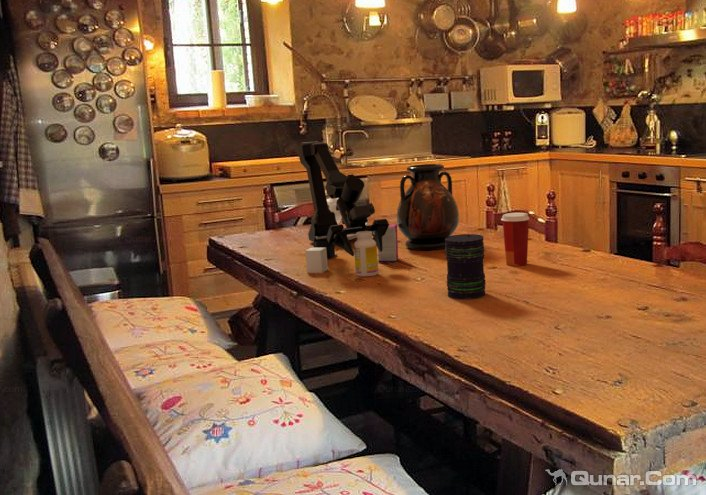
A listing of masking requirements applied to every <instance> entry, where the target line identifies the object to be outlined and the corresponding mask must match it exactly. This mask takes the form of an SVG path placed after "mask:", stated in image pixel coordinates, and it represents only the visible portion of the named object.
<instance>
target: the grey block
mask: <svg viewBox="0 0 706 495" xmlns="http://www.w3.org/2000/svg"><path fill="white" fill-rule="evenodd" d="M304 254H305V264H306V266H305V267H306V274H323V273H325V272H327V270H329V265H328V264H329V263H328V259H327V251H326V247H320V248H314V247H310V248H308V249H305V250H304Z"/></svg>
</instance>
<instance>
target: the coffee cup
mask: <svg viewBox="0 0 706 495" xmlns="http://www.w3.org/2000/svg"><path fill="white" fill-rule="evenodd" d="M500 220H501V222H502V231H503V232H502V233H503V240H504V241H503V242H504V243H503V244H504V253H505V261H506V263H505V264H506V265H507V266H509V267H523V266H526V265H527V264H528V249H529V245H528V244H529V222H530V221H529V220H530V217H529V214H528V213H526V212H509V213H504V214H503V215H502V216H501V218H500Z"/></svg>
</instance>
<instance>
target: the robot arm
mask: <svg viewBox="0 0 706 495" xmlns="http://www.w3.org/2000/svg"><path fill="white" fill-rule="evenodd" d="M296 153H297V156H298V160H299V161H300V162H299V163H300V164H301V165H302V166H303V167H304V169H306V174H307V178H308V180H307V181H308V184H309V188H310V189H309V191H310V195H311V201H312V206H313V214H312V216H311V220H310V223H311V225H310V228H309V231H308V233H307V235H308V240H309V241H310V242H313V248H320V247H326V251H327V260H329V259H332V258H336V257H338V254H337V253H336V251H335V246H338V247H339V248H341V249H342V250H343V251H345V252H346V253H348V254H349V255H350V256H351V257H355V254H354V248H353V247H352V245H351V244H350V240H348V238H347V235H350V234H356V233H357V232H360V231H371V232H372V240H374V241H375V242H376V248H377V250H378V249H379V251H380V252H382V236H384V235H385V233H386V231H387V229H388V226H389V225H390V223H389V221H388V219H386V218H379V219H373V222H372V224H368V225H367V226H366V225H365V224H366V223H367V222H368V220H369V217H371V216H373V214H375V212H376V210H375V206H374V205H373V203H371V202H370V203H366V204H364V205H357V202H358V201H359V200H360V198H361V195H362V193H363V190H364V188H365V182H364V181H363V180H362V179H361V178H360V177H357V176H355V175H354V174H353V173H352V174H344V173H343V172H341V171H340V169H339V167H338V165H337V163H336V162H335V160H334V158H333V156H332V154H331V152H330V149H329V144H328V143H327V142H320V141H318V140H316V141H307V142H306V141H305V142H300V143H299V145H298V146H297V147H296ZM323 176H324V178H325V180H326V184H324V179H323ZM326 194H327V195H326ZM327 196H328V197H330V198H332V199H334V198H338V200H337V202H336V204H337V206H336V211H338V210H339V212H340V214H341V216H342V219H341V223H342V224H341V223H338V224H337V222H336V218H335V213H334V212H331V211H330V210H329V205H328V204H327V199H328V198H327ZM330 198H329V199H330ZM367 218H368V219H367ZM344 225H345V227H344Z"/></svg>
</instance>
